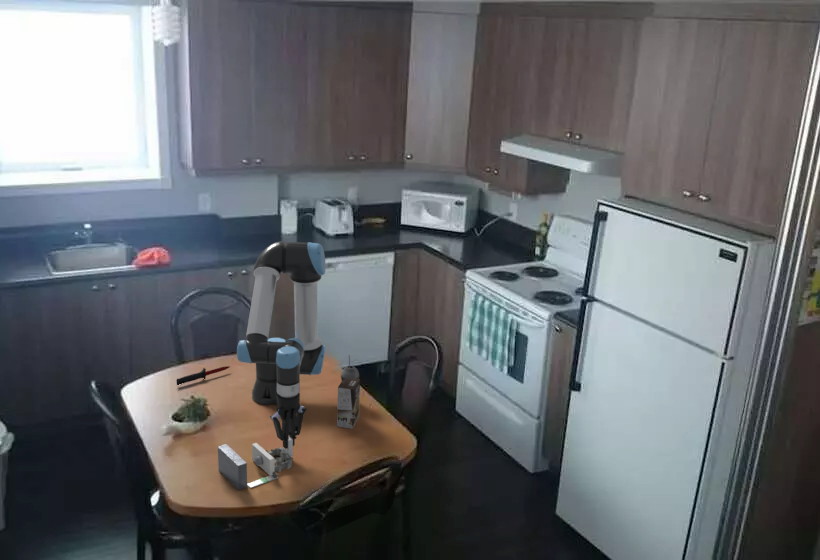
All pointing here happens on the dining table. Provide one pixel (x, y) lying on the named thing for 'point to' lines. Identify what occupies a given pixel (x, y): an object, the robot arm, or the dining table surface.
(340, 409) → the coffee box
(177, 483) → the dining table surface
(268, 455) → the spring plate
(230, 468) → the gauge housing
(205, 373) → the knife
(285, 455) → the egg carton
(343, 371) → the beverage cup
